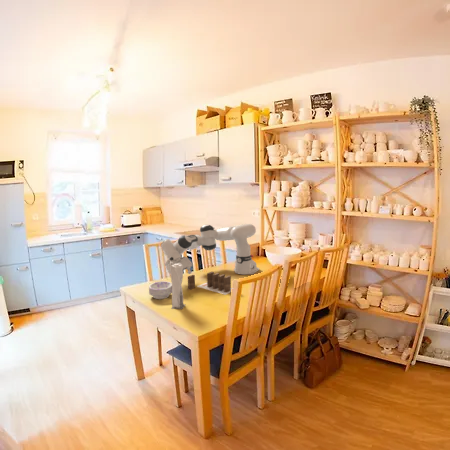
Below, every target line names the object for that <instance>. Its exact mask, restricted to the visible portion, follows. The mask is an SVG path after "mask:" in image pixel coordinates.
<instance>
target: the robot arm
mask: <svg viewBox="0 0 450 450" xmlns="http://www.w3.org/2000/svg"><path fill="white" fill-rule="evenodd" d="M256 230H257V228H256V227H255V225H253V223H252V224H251V223H245V224H239V225H232V226H225V227H221V228H217V229H215V227H213V225H211V224H204V225H202V226H200V229H199V232H200V235H199V234H190V235H183V234H182V235H181V236H179V238H178V239H177V240H176V241H175V242H172V241H171V240H170V238H167V239H165V240H164V241H162V243H161V245H160V247H161V250H162V251H163V253H164V255H165V256H166V257H167V260H166V261H165V262H164V266H165V267H166V270H167V273H169V274H170V275H171V270H170V261H171V262H172V263H171V265H173V264H178V263H180V264H179V265H181V264H182V265H183V271H186V270H187V274H188V275H192V271H191V268H192V267H193V263H192V262H191V260H190V259H189V258H188V257H187V256H182V255H183V253H185V252H186V251H187V250H189V251H190V250H191V251H192V250H195V249H198V248H199V247H200V246H201V248H202V249H203V250H204V251H205V250H206V251H210V252H211V251H212V250H215V249H216V248H217V243H216V240H217V241H223V242H224V241H232V240H233V241H234V242H235V245H236V255H235V256H236V257H235V262H234V269H233V271H234V273H235V274H238V275H254V274H255V273H257V272H259V270H260V267H257V262H256V261H255V260H253V259H252V258H254V254H251V245H250V244H249V243H248V239H247V238H251V237H253V236H254V235H255V234H256V232H257V231H256Z"/></svg>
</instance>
